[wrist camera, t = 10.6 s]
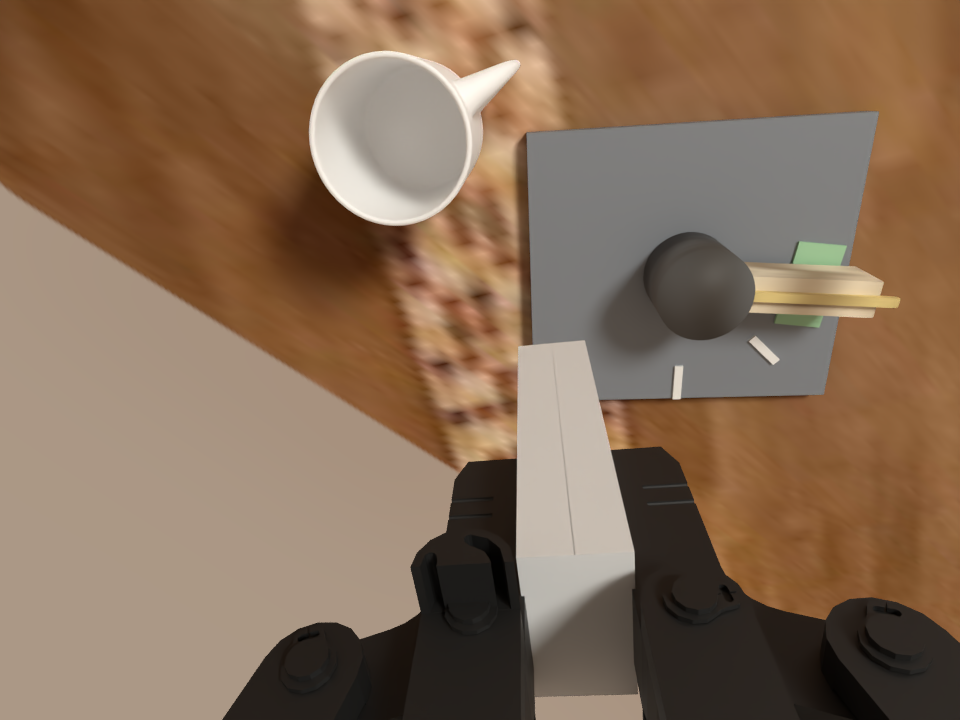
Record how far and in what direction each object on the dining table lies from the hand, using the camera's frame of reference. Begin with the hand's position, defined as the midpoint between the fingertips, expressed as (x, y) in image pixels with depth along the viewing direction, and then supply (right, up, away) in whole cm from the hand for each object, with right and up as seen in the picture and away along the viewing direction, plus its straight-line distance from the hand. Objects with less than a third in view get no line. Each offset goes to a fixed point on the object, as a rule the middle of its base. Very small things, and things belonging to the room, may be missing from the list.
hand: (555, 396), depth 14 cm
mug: (-4, +17, +27) cm, 32 cm away
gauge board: (+13, +7, +30) cm, 33 cm away
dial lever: (+17, +7, +28) cm, 34 cm away
